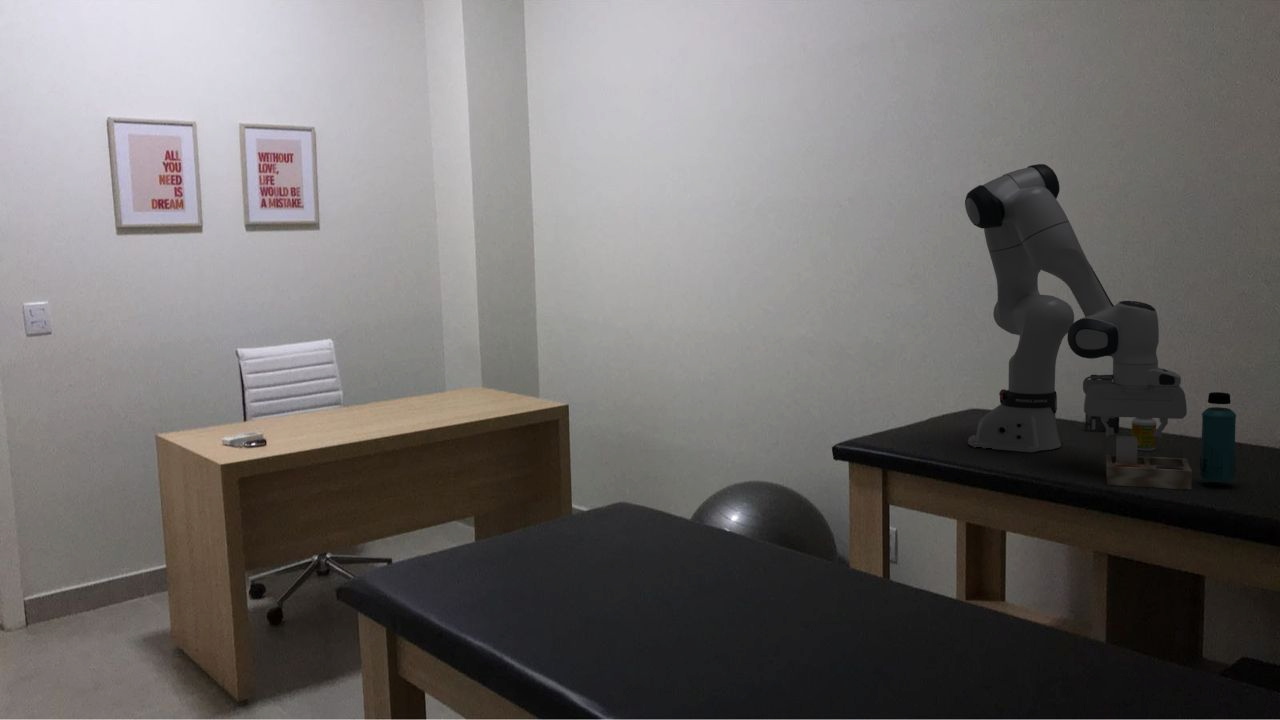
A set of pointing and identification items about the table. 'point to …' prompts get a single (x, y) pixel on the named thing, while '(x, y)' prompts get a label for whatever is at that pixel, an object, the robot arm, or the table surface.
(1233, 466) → the beverage bottle
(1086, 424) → the mini dv tape
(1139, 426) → the supplement bottle
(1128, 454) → the plug
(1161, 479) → the socket block
